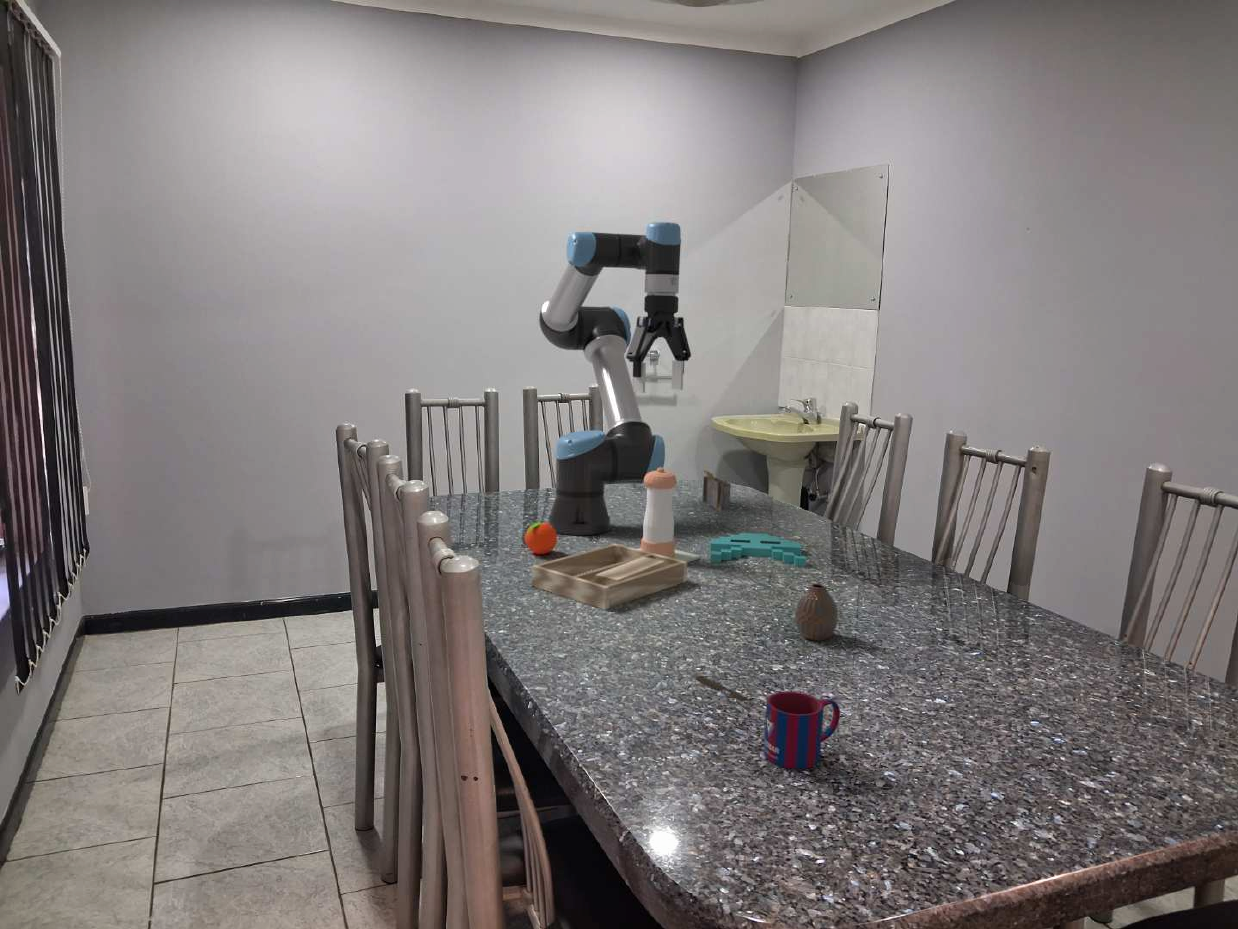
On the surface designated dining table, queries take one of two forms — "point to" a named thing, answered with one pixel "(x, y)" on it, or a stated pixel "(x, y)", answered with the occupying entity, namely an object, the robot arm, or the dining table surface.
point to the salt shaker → (659, 514)
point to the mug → (796, 729)
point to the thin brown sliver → (719, 687)
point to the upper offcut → (628, 570)
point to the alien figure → (756, 548)
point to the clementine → (541, 538)
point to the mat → (684, 556)
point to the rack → (583, 588)
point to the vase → (816, 613)
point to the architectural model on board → (716, 492)
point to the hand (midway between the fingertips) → (658, 390)
